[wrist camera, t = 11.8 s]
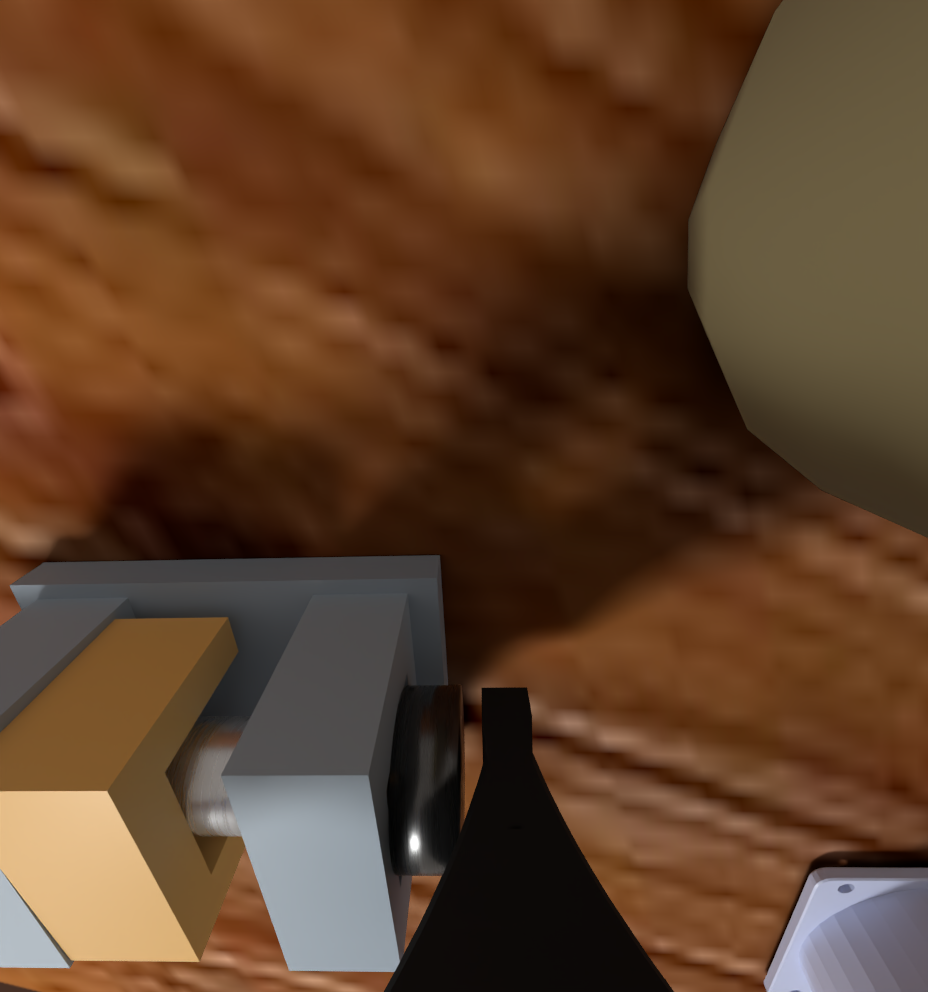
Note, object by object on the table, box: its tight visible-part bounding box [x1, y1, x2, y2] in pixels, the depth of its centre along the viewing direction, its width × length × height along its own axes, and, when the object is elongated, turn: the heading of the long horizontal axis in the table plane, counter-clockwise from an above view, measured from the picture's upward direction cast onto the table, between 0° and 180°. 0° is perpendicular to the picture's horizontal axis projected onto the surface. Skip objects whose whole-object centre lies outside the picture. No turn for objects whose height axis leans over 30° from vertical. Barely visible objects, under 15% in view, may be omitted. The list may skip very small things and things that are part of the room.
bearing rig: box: [0, 555, 448, 972], centre depth 11 cm, size 10×6×6 cm, turn 92°
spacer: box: [0, 617, 245, 962], centre depth 10 cm, size 3×5×4 cm, turn 2°
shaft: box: [165, 685, 465, 876], centre depth 10 cm, size 12×3×3 cm, turn 92°
